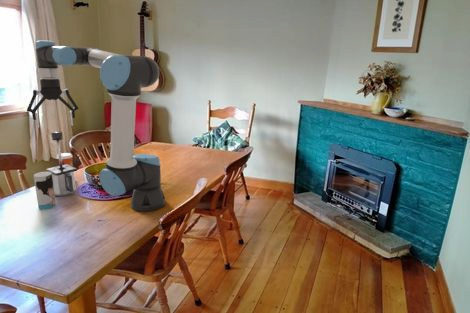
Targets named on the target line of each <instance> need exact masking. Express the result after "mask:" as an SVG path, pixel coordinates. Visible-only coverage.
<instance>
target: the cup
mask: <svg viewBox="0 0 470 313" xmlns="http://www.w3.org/2000/svg"><path fill="white" fill-rule="evenodd" d="M33 182H34V186H35V188H34V189H35V193H36V201H37V206H38V209H39V210H41V211H45V210H47V211H48V210H51V209H52V210H53V208H55V207H57V202H56V200H57V199H56V197H55V193H54V185H53V178H52V173H51V172H47V171H40V172H36V173H34V174H33Z"/></svg>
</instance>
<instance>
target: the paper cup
mask: <svg viewBox="0 0 470 313" xmlns="http://www.w3.org/2000/svg"><path fill="white" fill-rule="evenodd" d="M61 158H62V165H66V164H67V165H70V166H72V167H74V166H73V154H72V153H71V152H63V153H62V152H61ZM56 159H57V166H60V165H59V157H58V154H57V155H56Z"/></svg>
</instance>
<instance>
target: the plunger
mask: <svg viewBox="0 0 470 313" xmlns="http://www.w3.org/2000/svg"><path fill="white" fill-rule="evenodd" d="M63 139H64V136H63V131H52V132H51V140H52V141H56V147H57V155H58V157H59V165H60V170H62V169H63V165H62V158H61V153H62V152H61V151H62V150H61V140H63Z"/></svg>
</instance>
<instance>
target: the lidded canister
mask: <svg viewBox="0 0 470 313" xmlns="http://www.w3.org/2000/svg"><path fill="white" fill-rule="evenodd" d="M76 171H78V169H77V168H76V167H74V166H73V167H72V166H70V165H67V164H66V165H63V169H62V170H60V166H58V165H57V166H53V167H49V168H46V169H45V172H51V173H52V178H53V185H54V193H55V198H62V197H63V198H65V197H70V196H73V195H74V194H76V193H77V188H76V182H75V172H76Z"/></svg>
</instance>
